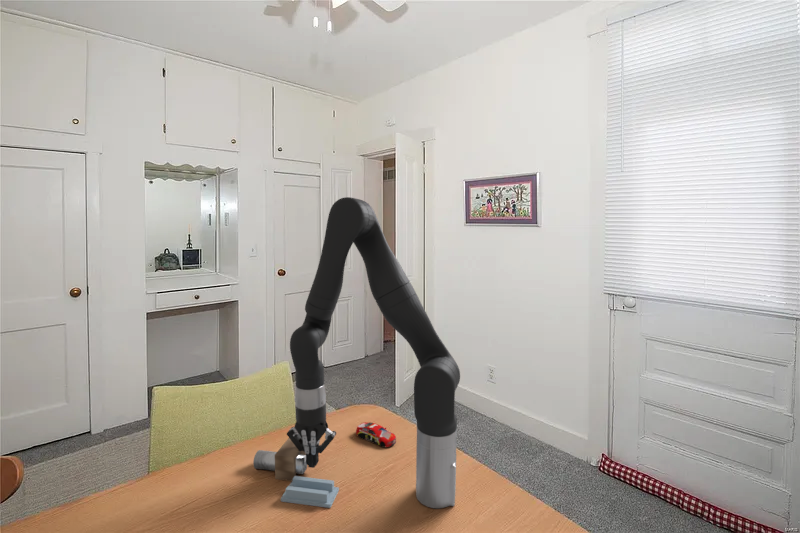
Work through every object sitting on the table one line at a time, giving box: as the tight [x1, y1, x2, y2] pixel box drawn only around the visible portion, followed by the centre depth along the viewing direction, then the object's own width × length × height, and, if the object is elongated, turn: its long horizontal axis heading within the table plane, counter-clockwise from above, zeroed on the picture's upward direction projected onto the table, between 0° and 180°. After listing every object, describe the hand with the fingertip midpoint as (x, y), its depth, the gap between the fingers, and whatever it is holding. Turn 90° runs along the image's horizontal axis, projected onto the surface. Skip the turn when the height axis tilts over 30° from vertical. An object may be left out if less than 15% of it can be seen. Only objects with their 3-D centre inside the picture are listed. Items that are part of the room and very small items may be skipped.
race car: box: [355, 421, 397, 448], centre depth 122 cm, size 13×5×4 cm, turn 55°
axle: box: [253, 449, 308, 475], centre depth 107 cm, size 13×4×4 cm, turn 80°
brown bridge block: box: [274, 437, 306, 482], centre depth 106 cm, size 5×8×6 cm, turn 170°
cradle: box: [280, 475, 340, 509], centre depth 97 cm, size 12×6×3 cm, turn 80°
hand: (312, 465), depth 105 cm, fingers closed
